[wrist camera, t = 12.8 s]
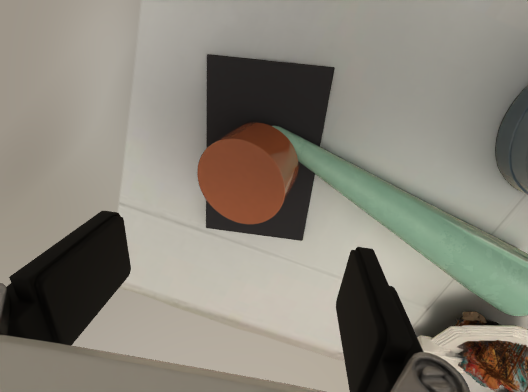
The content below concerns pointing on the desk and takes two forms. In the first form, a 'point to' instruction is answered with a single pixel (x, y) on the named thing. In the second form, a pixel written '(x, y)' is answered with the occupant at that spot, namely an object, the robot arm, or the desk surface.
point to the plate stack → (514, 144)
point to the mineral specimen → (484, 351)
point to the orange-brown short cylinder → (248, 173)
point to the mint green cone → (428, 230)
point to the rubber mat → (271, 113)
